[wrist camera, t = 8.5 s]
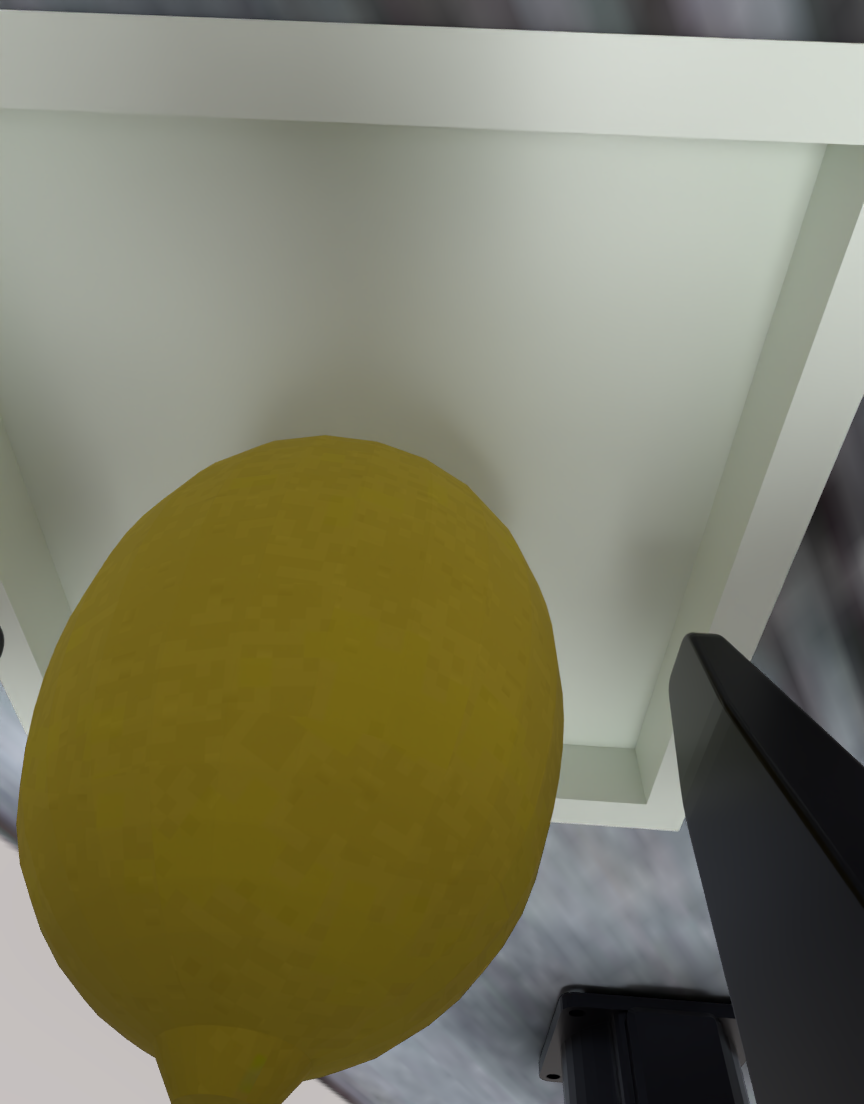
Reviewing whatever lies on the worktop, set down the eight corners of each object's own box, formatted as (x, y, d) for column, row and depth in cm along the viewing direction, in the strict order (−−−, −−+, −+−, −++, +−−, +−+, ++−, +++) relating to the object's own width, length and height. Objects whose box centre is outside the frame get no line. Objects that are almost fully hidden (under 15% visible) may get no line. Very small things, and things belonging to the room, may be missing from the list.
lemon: (137, 524, 12) (-270, 1108, 5) (315, 254, 9) (-78, 785, 3) (400, 678, 14) (327, 1249, 7) (613, 492, 11) (799, 1143, 5)
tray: (660, 756, 15) (678, 831, 14) (91, 717, 16) (51, 786, 14) (913, 45, 8) (1009, 49, 6) (-186, 2, 8) (-328, -3, 7)
